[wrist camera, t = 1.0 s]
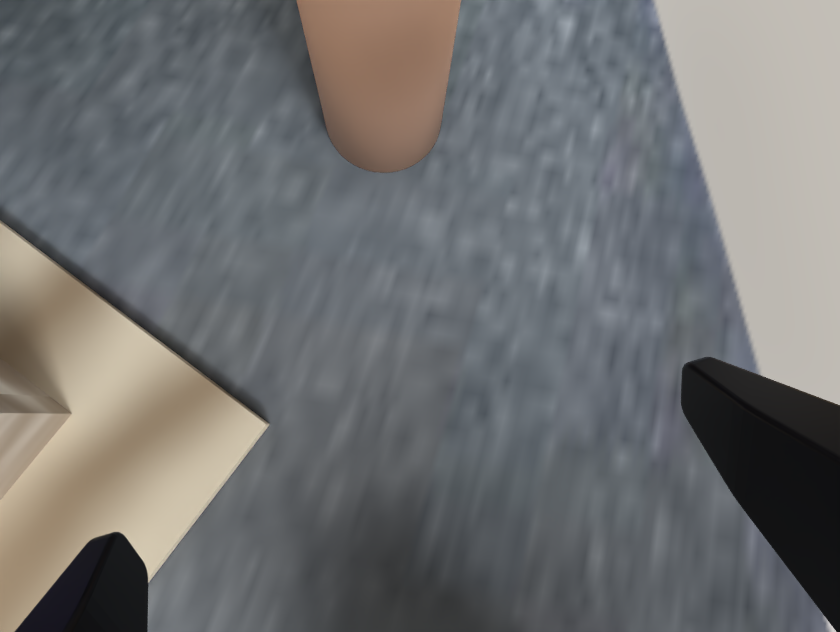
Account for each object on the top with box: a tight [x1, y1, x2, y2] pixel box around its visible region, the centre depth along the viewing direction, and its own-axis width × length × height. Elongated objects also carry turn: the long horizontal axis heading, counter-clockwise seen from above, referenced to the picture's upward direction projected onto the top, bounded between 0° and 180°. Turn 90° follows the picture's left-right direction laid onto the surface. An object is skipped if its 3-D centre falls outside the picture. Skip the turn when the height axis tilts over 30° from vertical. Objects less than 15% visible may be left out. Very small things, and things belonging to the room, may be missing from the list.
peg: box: [297, 0, 461, 173], centre depth 19 cm, size 5×5×12 cm
